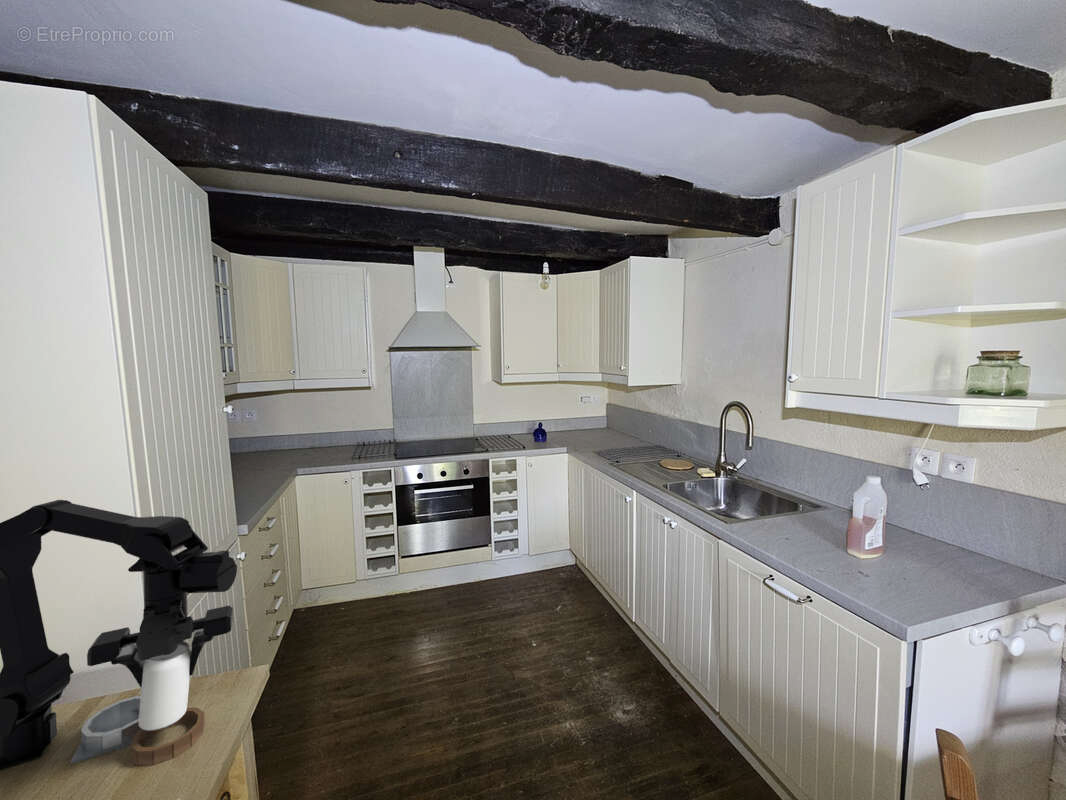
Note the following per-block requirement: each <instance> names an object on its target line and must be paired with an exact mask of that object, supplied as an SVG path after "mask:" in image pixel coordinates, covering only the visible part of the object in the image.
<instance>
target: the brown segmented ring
mask: <svg viewBox="0 0 1066 800" xmlns="http://www.w3.org/2000/svg"><path fill="white" fill-rule="evenodd" d="M182 724H193V726H192V727H190V728H191V729H189V730H187V732H186V733H184V734H183V735H181V736H179V737H178V738H176V739H174V740H172V741H170V742H167V743H164V744H161V745H158V746H143V745H145V744H146V742H148V741H149V740H150V739H149V735H150V734H151V738H152V737H154V736H155V735H157V734H159V733H160V732H162V731H165V730H166V729H169V728H172V727H174V726H178V725H182ZM204 729H205V712H204V711H203V710H201V709H200V708H199V707H187V710H186V712H185V714H184V715H183V716H182V717H181V719H180V720H178V721H177V722H176V723H174V724H172V725H171V726H168V727H166V728H163V729H160V730H155V731H146V730H143V729H142V728H141V729H140V730H139V731H138V732H137V733H136V734H135V735H134V737H133V740H132V742H131V745H130V760H131V761H132V762H133V763H134V764H135V765H136V766H156V765H158V764H162V763H164V762H167V761H170V760H172V759H173V758H177V756H180V755H181V754H182V753H184V752H186V751H187V750H189V749H191V747H193V746H194V745H195V744H196V742H197V741H198V740H199V739H200V738H201V737H202V736H203V734H204Z"/></svg>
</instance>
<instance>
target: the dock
mask: <svg viewBox="0 0 1066 800" xmlns="http://www.w3.org/2000/svg"><path fill="white" fill-rule="evenodd" d="M140 698H141V695H136V696H131V697H127V698H125V699H124V698H123V699H121V700H117V701H116V702H113V703H112V704H109V705H107V706H106V707H104V708H101V709H100V710H98V711H96V713H94V714H93V715H92V716H90V717H89V718H88V719H87V720H86V721H85V722H84V724H83V726H82V728H81V729H80V739H81V740H80V743H79V744H78V746H77V748H76V750H75V753H74V754H73V756H72V758H70V759H71V760H70V765H72V764H76V763H79V762H81V761H85V760H88V759H92V758H94V757H95V758H96V757H97V756H98V757H99V756H100V755H104V754H107V753H111V752H113V751H116V750H119V749H122V748H126V747H129V746H131V742H132V740H133V737H134V735H135V734H136V733H137V732H138V731H139V730H140V729H141V728H140V727H139V709H140ZM151 738H152V737H151V734H150V735H149V740H150V739H151Z"/></svg>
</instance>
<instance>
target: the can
mask: <svg viewBox="0 0 1066 800" xmlns="http://www.w3.org/2000/svg"><path fill="white" fill-rule="evenodd" d="M190 658H191V649H190V643H189V642H187V641H184V642H182V643H178V646H177V649H176V650H175V651H174V652H173V653H171V654H168V655H160V656H156V657H152V658H150V659H148V660H145V663H144V666H143V677H142V686H141V687H140V696H141V698H140V709H139V727H140V728H142V729H143V730H146V731H155V730H160V729H163V728H166V727H168V726H171V725H172V724H174V723H176V722H177V721H178V720H180V719H181V717H182V716H183V715H184V714H185V712H186V710H187V708H188V701H189V700H188V699H189V691H190V690H189V689H190V678H191V676H190V675H189V665H190ZM166 729H167V728H166Z"/></svg>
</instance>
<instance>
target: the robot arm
mask: <svg viewBox="0 0 1066 800" xmlns="http://www.w3.org/2000/svg"><path fill="white" fill-rule="evenodd" d="M50 532H57V533H62V534H67V535H72V536H77V537H81V538H85V539H86V538H87V539H89V540H90V539H92V540H96V541H101V542H106V543H111V544H114V545H117V546H119V547H121V548H122V549H123V551H125V553H126V554H129V555H131V556H134V557H136V558H138V560H137V561H136V562H135V563H133V564H132V565H131V566H130V567H129V568H128V569H127V570H128V571H127V572H130V573H134V572H135V573H136V572H138V573H139V572H140V573H141V572H142V574H143V575H142V579H143V581H142V582H143V585H142V586H143V617H142V621H141V623H140V625H139V632H135V633H131V629H130V627H129V626H127V627H122V628H118V629H113V630H110V631H109V630H108V631H105V632H101V633H100V634H99V635H98V636H97V637H96V638H95V640H94V641H93V642H92V644H91V646H90V647H89V648H88V650H87V654H86V657H87V658H86V661H87V662H86V663H87V666H89V667H93V666H99V665H101V664H107V663H109V662H110V664H111V665H114V666H115V665H123V666H125V667H126V668H127V669H128V670H129V671H130V672H131V674H132V676H133V677H134V679H135V681H136V682H137V684H138V685H139V687H140V688H141V686H142V677H143V666H144V663H145V661H146V660H148V659H150V658H152V657H156V656H160V655H168V654H171V653H173V652H174V651H175V650H176V649H177V646H178V643H182V642H185V641H186V640H189V639H192V642H191V649H190V651H191V658H190V665H189V675H190V677H191V676H193V675H194V672H195V668H196V666H197V662H198V659H199V656H200V653H201V652H202V649H203V647H204V645H206V643H209V642H210V641H213V639H214V637H218V636H221V635H226V634H228V633H230V632H231V631H232V626H233V620H234V607H232V606H230V605H226V606H221V607H216V608H211V609H207V610H206V613H205V616H204V617H200V618H198V619H194V620H193V617H192V616H190V615H189V616H188V594H200V593H201V594H204V593H205V594H207V593H224V592H228V591H229V590H230V589H231V587H232V586H233V584H234V583H235V581H236V576H237V572H238V565H237V563H236V561H235V559H234V558H233V557H232V556H230V551H229V550H219V551H211V552H206V551H208V549H209V548H208V546H207V545H206V544H205V543H204V541H203V540H202V539H201V538H200V537H199V536H198V535H197V533H196V532H195V531H194V530H193V528H192V526H191V525H190V521H189V520H188V519H186V518H185V517H180V516H167V515H166V516H164V515H158V516H145V517H143V516H133V515H128V514H124V513H119V512H113V511H109V510H106V509H105V510H104V509H99V508H96V507H91V506H86V505H82V504H81V505H80V504H77V503H72V502H71V501H70V500H67V499H65V500H64V499H56V500H53V501H49V502H45V503H40V504H37V505H34V506H32V507H30V508H29V509H27V510H25V511H23V512H21V513H19V514H18V515H15V516H13V517H11V518H9V519H6V520H4V521H2V522H0V655H1V660H2V668H1V671H0V770H3V769H5V768H9V767H13V766H16V765H19V764H22V763H25V762H29V761H31V760H35V759H38V758H40V757H42V756H43V755H44V754H45V752H46V750H47V748H48V747H49V745H51V744H52V742H53V741H54V739H55V738H56V736H57V735H58V729H57V727H58V726H57V712H54V711H53V710H52V709H53V708H52V704H53V703H54V702H56V701H57V700H59V699H60V698H61V697H62V694H63V692H64V690H65V689H66V688H67V686H68V685H69V684H70V683H71V675H72V674H73V673H74V669H72V667H71V664H70V655H69V653H68V652H64V653H61V654H59V653H57V652H55V651H54V650H52V649H50V648H49V646H48V641H47V636H46V632H45V631H46V630H45V626H44V621H43V616H42V612H41V608H40V602H39V598H38V593H37V587H36V583H35V578H34V573H33V568H34V565H35V563H36V561H38V560H37V559H38V558H39V556H40V553H41V552H42V537H43V536H45V535H47V534H48V533H50ZM182 548H185V549H183V550H181V551H179V550H180V549H182ZM176 551H179V552H177V553H175V554H174V555H173V554H172V553H174V552H176ZM193 635H194V636H193ZM192 636H193V638H192Z"/></svg>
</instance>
